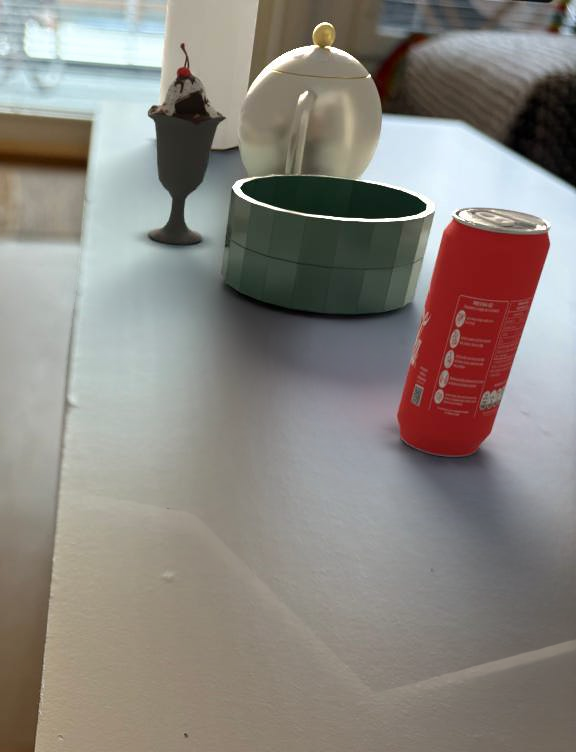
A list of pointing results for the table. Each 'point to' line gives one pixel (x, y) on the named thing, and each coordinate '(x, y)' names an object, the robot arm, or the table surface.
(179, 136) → the sundae
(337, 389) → the table surface
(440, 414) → the beverage can
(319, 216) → the green planter pot
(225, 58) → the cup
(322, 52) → the teapot
